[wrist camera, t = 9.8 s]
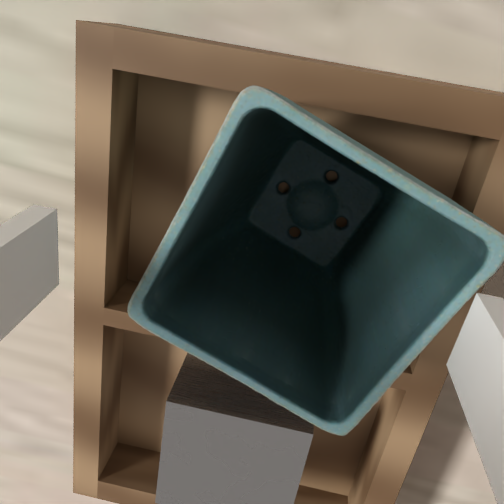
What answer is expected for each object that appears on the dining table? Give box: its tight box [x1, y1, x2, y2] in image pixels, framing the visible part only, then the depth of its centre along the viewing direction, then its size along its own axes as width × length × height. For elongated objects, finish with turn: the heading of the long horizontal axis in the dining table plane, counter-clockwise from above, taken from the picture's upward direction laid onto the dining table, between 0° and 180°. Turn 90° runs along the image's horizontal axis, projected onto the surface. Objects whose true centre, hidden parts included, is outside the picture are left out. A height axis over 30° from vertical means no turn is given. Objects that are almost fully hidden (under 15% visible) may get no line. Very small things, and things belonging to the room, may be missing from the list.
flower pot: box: [127, 86, 504, 436], centre depth 19 cm, size 9×9×9 cm
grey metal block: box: [155, 353, 314, 504], centre depth 26 cm, size 7×7×5 cm
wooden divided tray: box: [73, 20, 504, 504], centre depth 25 cm, size 26×18×4 cm
